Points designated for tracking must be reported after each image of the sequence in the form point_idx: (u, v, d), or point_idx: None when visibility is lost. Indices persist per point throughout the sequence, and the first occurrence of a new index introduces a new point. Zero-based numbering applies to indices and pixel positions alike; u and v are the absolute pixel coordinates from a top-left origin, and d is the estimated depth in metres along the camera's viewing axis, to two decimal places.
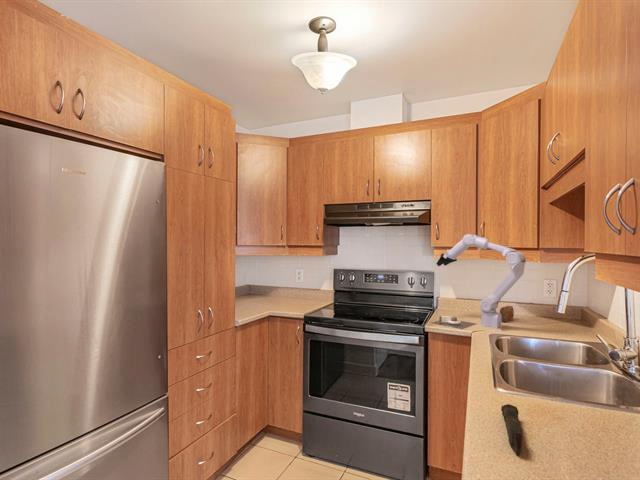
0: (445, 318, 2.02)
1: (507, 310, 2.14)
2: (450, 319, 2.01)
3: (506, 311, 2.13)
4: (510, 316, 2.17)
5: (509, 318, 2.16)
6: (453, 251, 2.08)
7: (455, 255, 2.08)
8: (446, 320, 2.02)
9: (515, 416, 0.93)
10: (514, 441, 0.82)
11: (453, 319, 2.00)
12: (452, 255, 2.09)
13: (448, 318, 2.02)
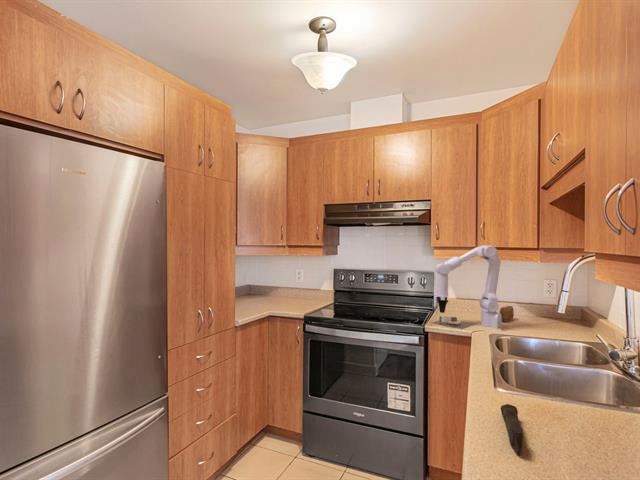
0: (445, 318, 2.02)
1: (507, 310, 2.14)
2: (450, 319, 2.01)
3: (506, 311, 2.13)
4: (510, 316, 2.17)
5: (509, 318, 2.16)
6: (442, 289, 1.95)
7: (446, 291, 1.95)
8: (446, 320, 2.02)
9: (515, 416, 0.93)
10: (515, 441, 0.82)
11: (453, 319, 2.00)
12: (444, 293, 1.95)
13: (448, 318, 2.02)
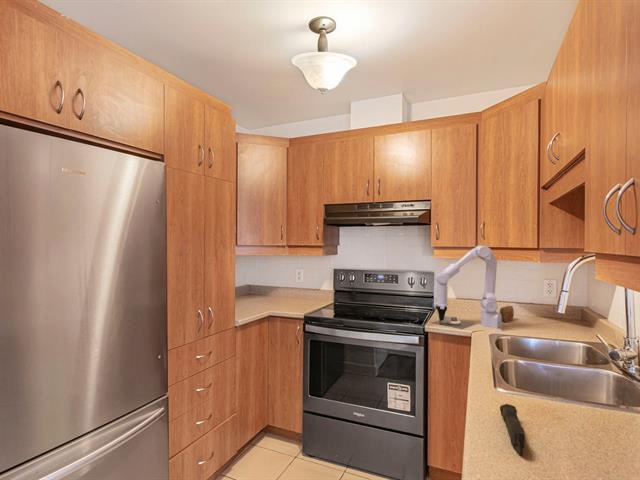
0: (445, 318, 2.02)
1: (507, 310, 2.14)
2: (450, 319, 2.01)
3: (506, 311, 2.13)
4: (510, 316, 2.17)
5: (509, 318, 2.16)
6: (441, 298, 1.99)
7: (445, 300, 1.99)
8: (446, 320, 2.02)
9: (515, 416, 0.93)
10: (517, 441, 0.82)
11: (453, 319, 2.00)
12: (444, 302, 1.99)
13: (448, 318, 2.02)
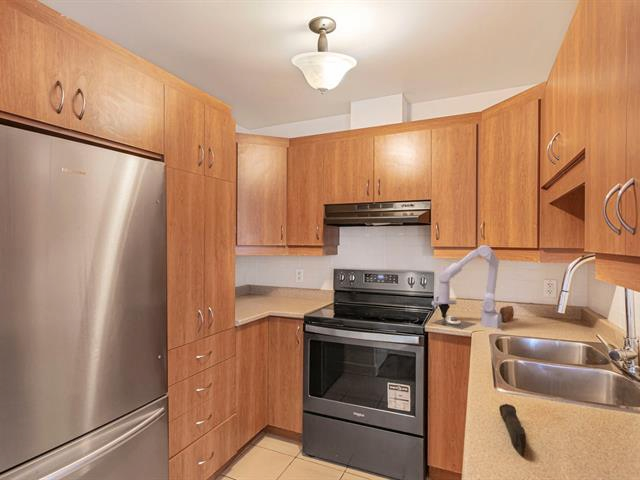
0: (447, 317, 2.06)
1: (507, 310, 2.14)
2: (450, 318, 2.03)
3: (506, 311, 2.13)
4: (510, 316, 2.17)
5: (509, 318, 2.16)
6: (439, 296, 2.07)
7: (443, 298, 2.05)
8: (447, 319, 2.05)
9: (515, 416, 0.93)
10: (518, 442, 0.82)
11: (451, 319, 2.02)
12: (441, 300, 2.06)
13: (449, 317, 2.04)
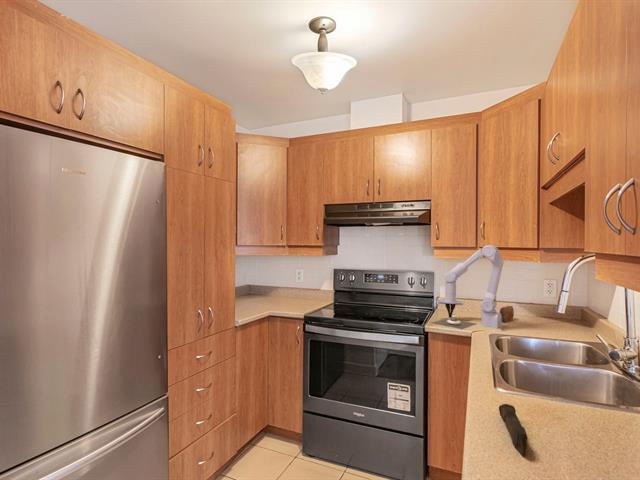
0: None
1: (507, 310, 2.14)
2: None
3: (506, 311, 2.13)
4: (510, 316, 2.17)
5: (509, 318, 2.16)
6: (445, 295, 2.09)
7: (446, 297, 2.07)
8: None
9: (515, 416, 0.93)
10: (520, 442, 0.82)
11: None
12: (445, 299, 2.08)
13: (452, 317, 2.05)
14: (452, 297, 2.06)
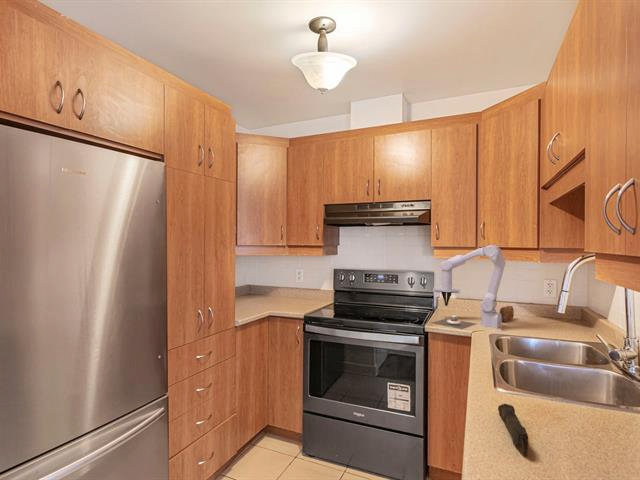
0: None
1: (507, 310, 2.14)
2: None
3: (506, 311, 2.13)
4: (510, 316, 2.17)
5: (509, 318, 2.16)
6: (441, 283, 2.11)
7: (443, 286, 2.09)
8: None
9: (514, 416, 0.93)
10: (521, 442, 0.82)
11: None
12: (441, 287, 2.10)
13: (452, 317, 2.05)
14: (448, 285, 2.07)
